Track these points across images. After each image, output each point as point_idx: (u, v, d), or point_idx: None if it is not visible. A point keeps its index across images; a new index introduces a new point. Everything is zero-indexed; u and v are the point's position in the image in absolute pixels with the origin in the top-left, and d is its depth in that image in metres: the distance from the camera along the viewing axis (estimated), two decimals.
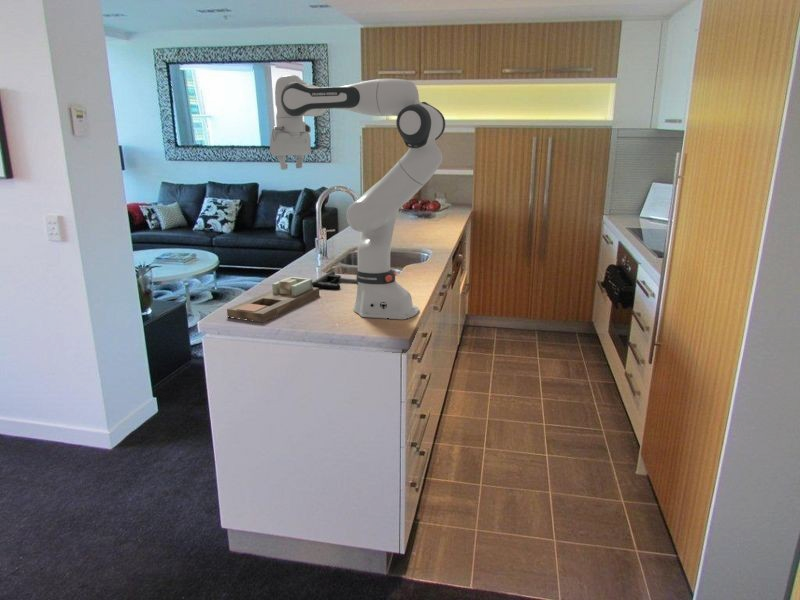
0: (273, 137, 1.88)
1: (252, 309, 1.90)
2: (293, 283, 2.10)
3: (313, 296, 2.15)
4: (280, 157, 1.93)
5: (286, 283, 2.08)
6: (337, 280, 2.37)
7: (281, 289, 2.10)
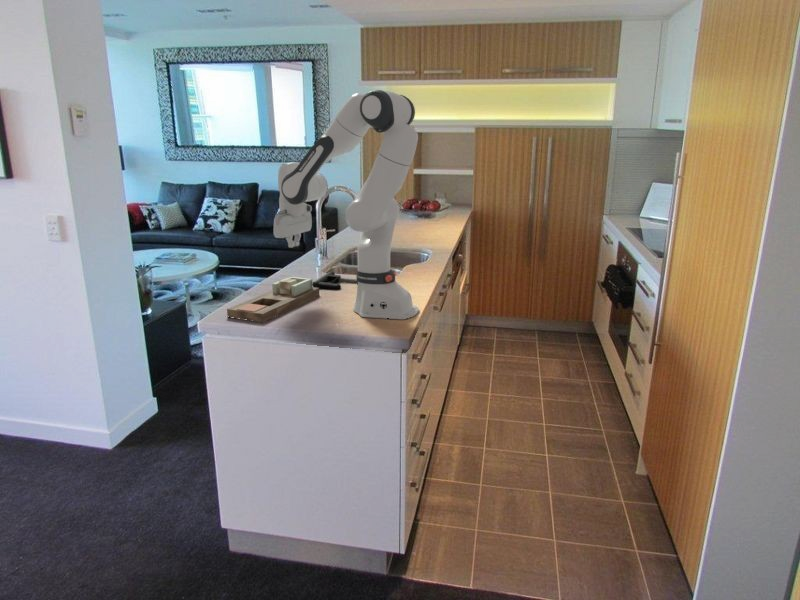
0: (276, 221, 2.00)
1: (252, 309, 1.90)
2: (293, 283, 2.10)
3: (313, 296, 2.15)
4: (288, 237, 2.08)
5: (286, 283, 2.08)
6: (337, 280, 2.37)
7: (281, 289, 2.10)
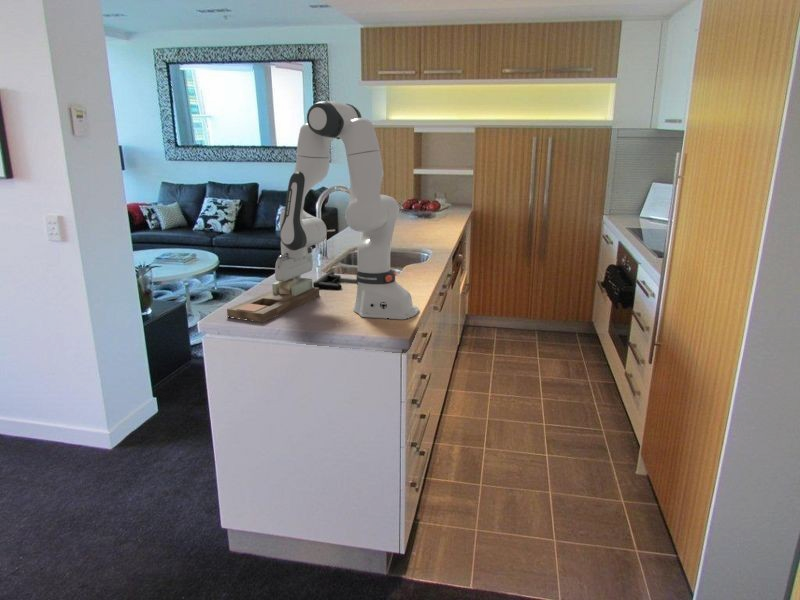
0: (278, 265, 2.04)
1: (252, 309, 1.90)
2: (293, 283, 2.10)
3: (313, 296, 2.15)
4: (290, 278, 2.12)
5: (286, 283, 2.08)
6: (337, 280, 2.38)
7: (281, 289, 2.10)
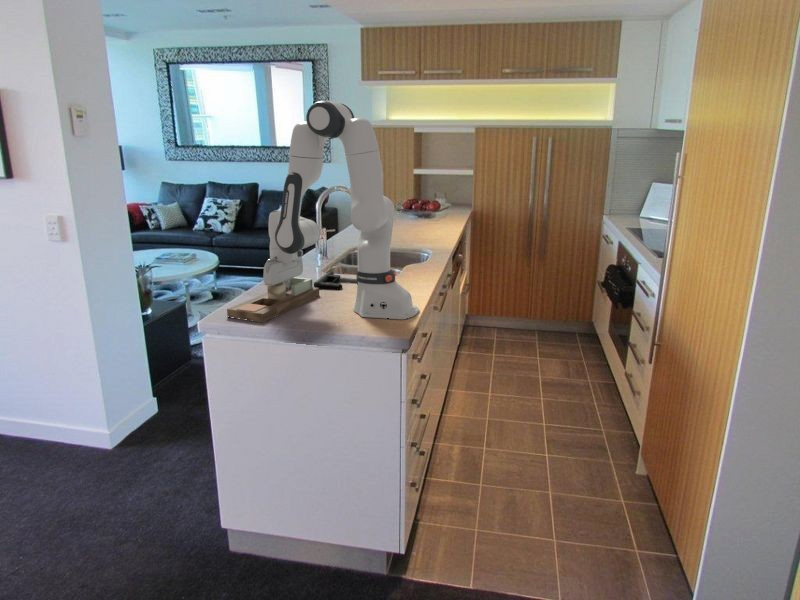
0: (266, 269, 1.97)
1: (252, 309, 1.90)
2: (282, 288, 2.04)
3: (313, 296, 2.15)
4: (280, 283, 2.06)
5: (274, 288, 2.02)
6: (337, 280, 2.38)
7: (269, 294, 2.03)
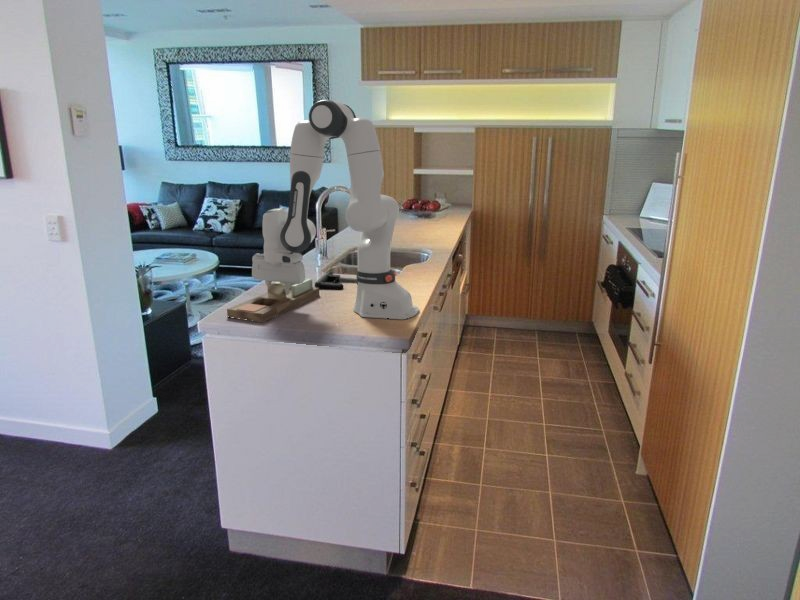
0: None
1: (252, 309, 1.90)
2: (282, 288, 2.04)
3: (313, 296, 2.15)
4: None
5: (274, 288, 2.02)
6: (337, 280, 2.38)
7: (269, 294, 2.03)
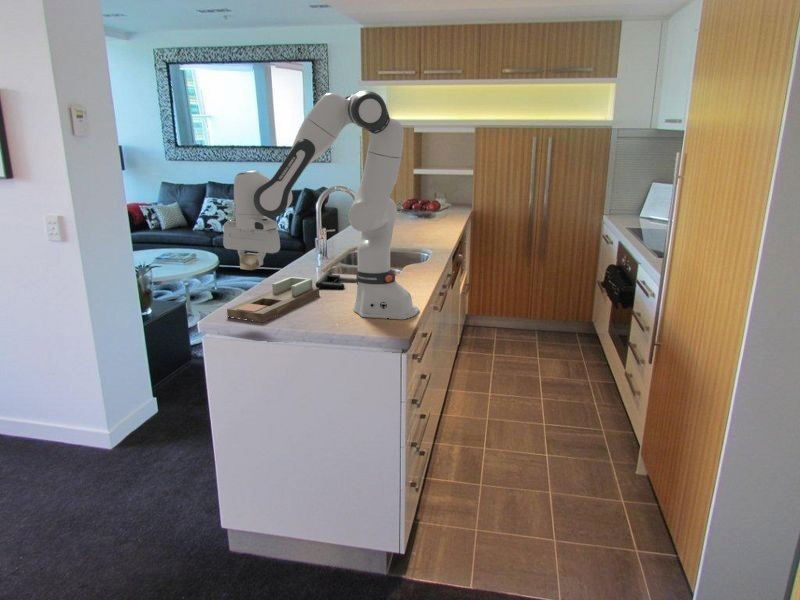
0: None
1: (252, 309, 1.90)
2: (255, 258, 1.88)
3: (313, 296, 2.15)
4: None
5: (247, 257, 1.86)
6: (338, 280, 2.38)
7: (242, 264, 1.88)
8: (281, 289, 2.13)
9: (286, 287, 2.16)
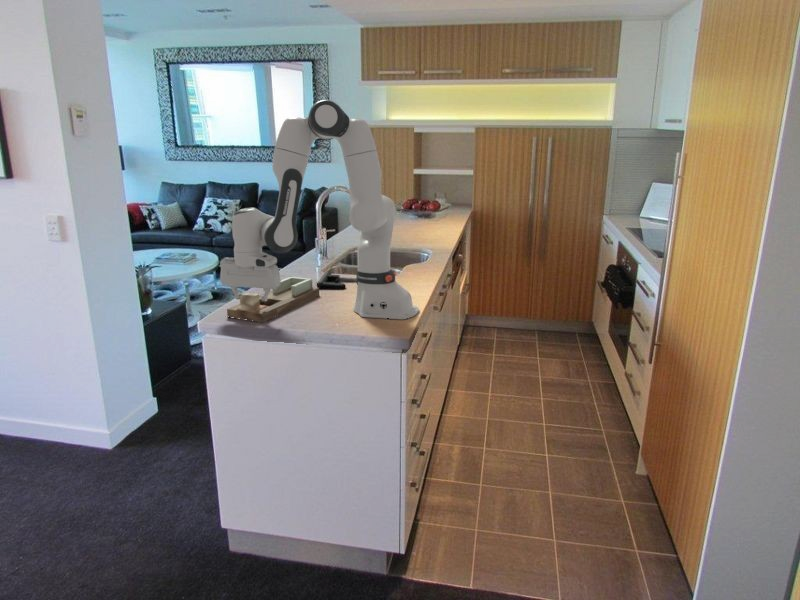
0: None
1: None
2: (256, 298, 1.89)
3: (313, 296, 2.15)
4: None
5: (248, 298, 1.88)
6: (338, 280, 2.38)
7: (242, 305, 1.89)
8: (281, 289, 2.13)
9: (286, 287, 2.16)
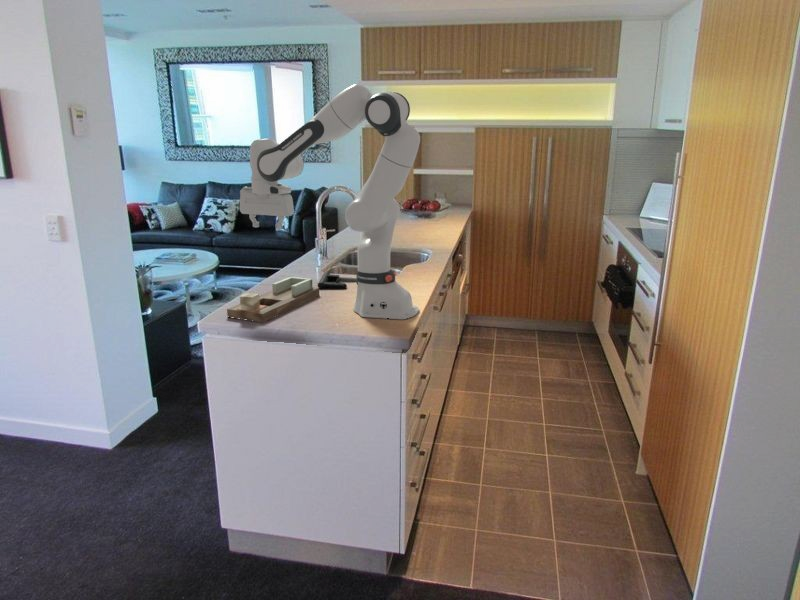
0: None
1: None
2: (256, 298, 1.89)
3: (313, 296, 2.15)
4: None
5: (248, 298, 1.88)
6: (338, 280, 2.38)
7: (242, 305, 1.89)
8: (281, 289, 2.13)
9: (286, 287, 2.16)
